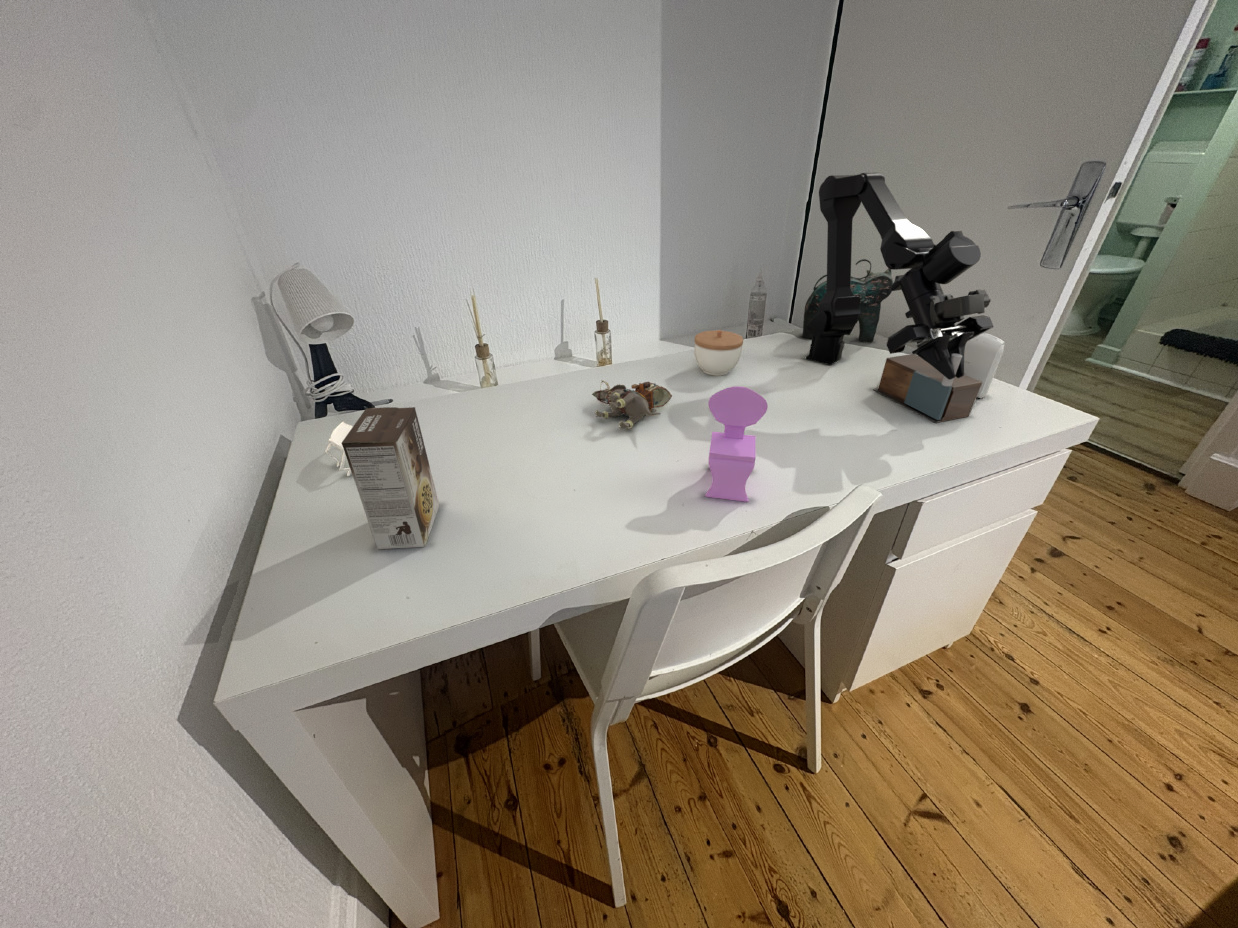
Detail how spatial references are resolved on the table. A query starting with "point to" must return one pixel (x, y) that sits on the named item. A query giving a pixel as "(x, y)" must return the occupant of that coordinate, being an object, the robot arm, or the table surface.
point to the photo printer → (983, 359)
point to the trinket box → (717, 351)
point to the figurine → (632, 401)
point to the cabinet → (904, 366)
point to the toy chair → (733, 441)
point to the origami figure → (339, 443)
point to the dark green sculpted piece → (870, 304)
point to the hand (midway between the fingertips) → (956, 377)
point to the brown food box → (392, 476)
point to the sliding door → (931, 391)
